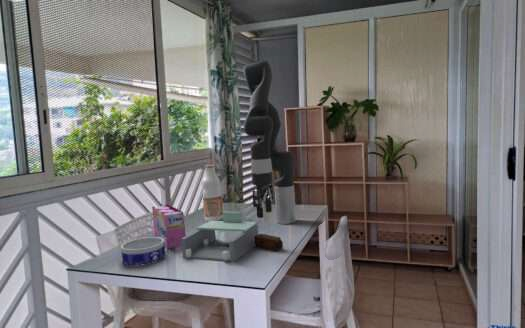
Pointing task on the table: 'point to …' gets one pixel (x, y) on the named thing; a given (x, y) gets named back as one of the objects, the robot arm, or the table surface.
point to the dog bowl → (143, 250)
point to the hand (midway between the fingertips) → (264, 214)
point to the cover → (228, 223)
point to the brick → (268, 242)
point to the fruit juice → (212, 195)
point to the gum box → (169, 225)
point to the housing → (200, 249)
